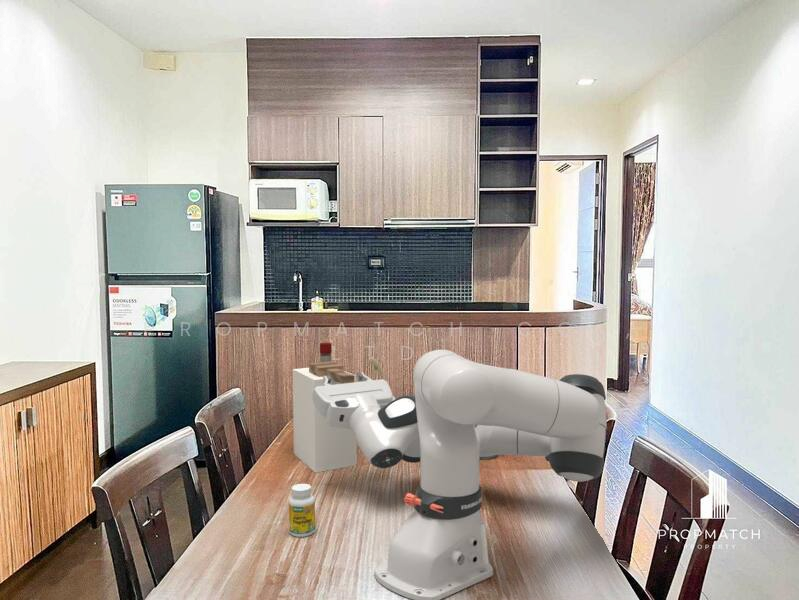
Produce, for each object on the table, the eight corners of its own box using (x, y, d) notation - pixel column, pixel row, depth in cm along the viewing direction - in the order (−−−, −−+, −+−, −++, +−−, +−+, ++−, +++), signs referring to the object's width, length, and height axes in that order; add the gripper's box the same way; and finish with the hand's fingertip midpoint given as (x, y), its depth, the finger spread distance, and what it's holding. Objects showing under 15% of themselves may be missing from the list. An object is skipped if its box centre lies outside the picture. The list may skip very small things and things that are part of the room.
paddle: (361, 382, 155) (361, 372, 154) (336, 385, 151) (336, 375, 151) (332, 370, 172) (332, 361, 172) (309, 372, 169) (308, 363, 169)
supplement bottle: (314, 525, 128) (313, 481, 128) (316, 536, 123) (315, 490, 122) (288, 527, 127) (287, 483, 126) (289, 539, 122) (289, 492, 121)
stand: (356, 465, 165) (355, 375, 164) (315, 472, 160) (314, 379, 158) (332, 447, 181) (331, 365, 180) (293, 453, 176) (292, 369, 174)
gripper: (402, 397, 150) (381, 362, 160) (325, 407, 140) (308, 369, 150) (396, 416, 153) (376, 381, 163) (321, 426, 143) (304, 388, 153)
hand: (342, 375), depth 157 cm, fingers open, 8 cm apart
